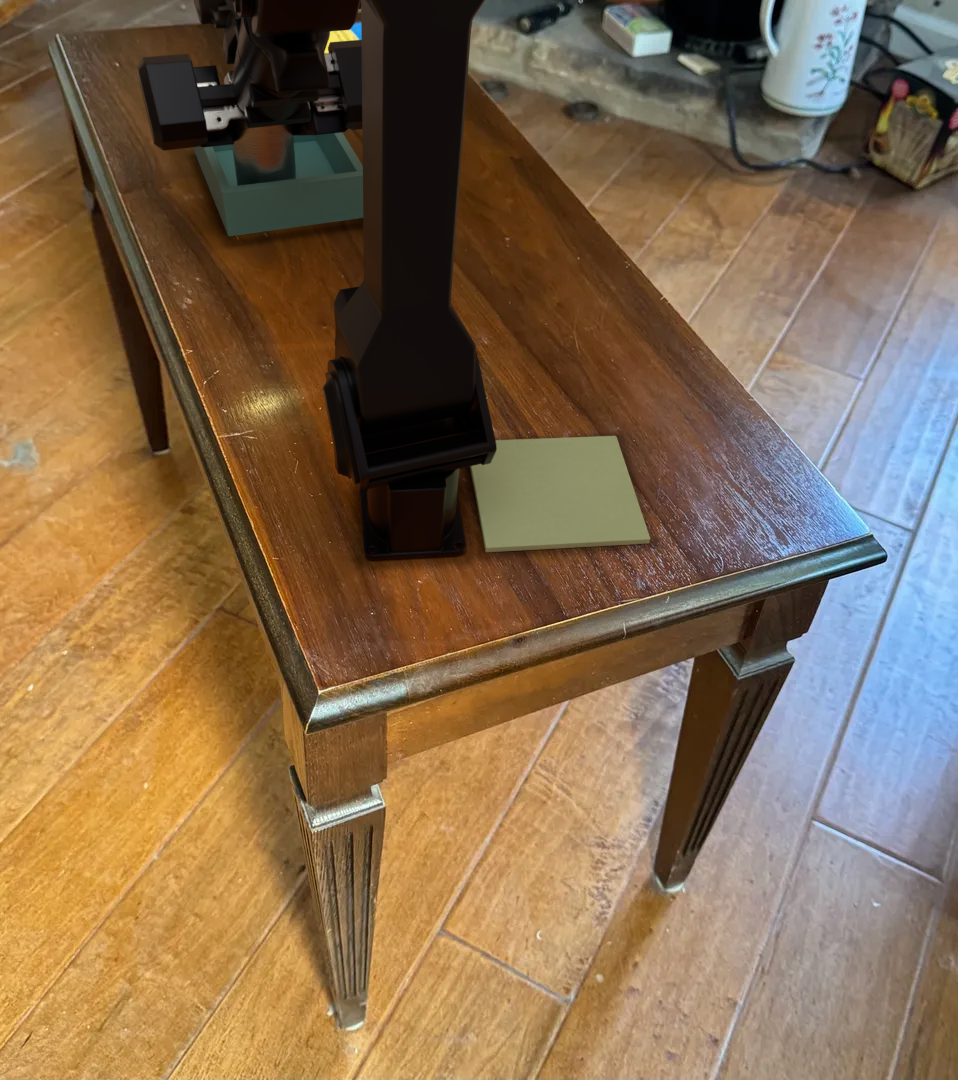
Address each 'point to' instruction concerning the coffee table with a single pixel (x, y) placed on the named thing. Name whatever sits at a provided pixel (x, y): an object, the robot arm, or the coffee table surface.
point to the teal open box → (288, 187)
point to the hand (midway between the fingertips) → (259, 132)
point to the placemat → (557, 495)
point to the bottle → (262, 152)
